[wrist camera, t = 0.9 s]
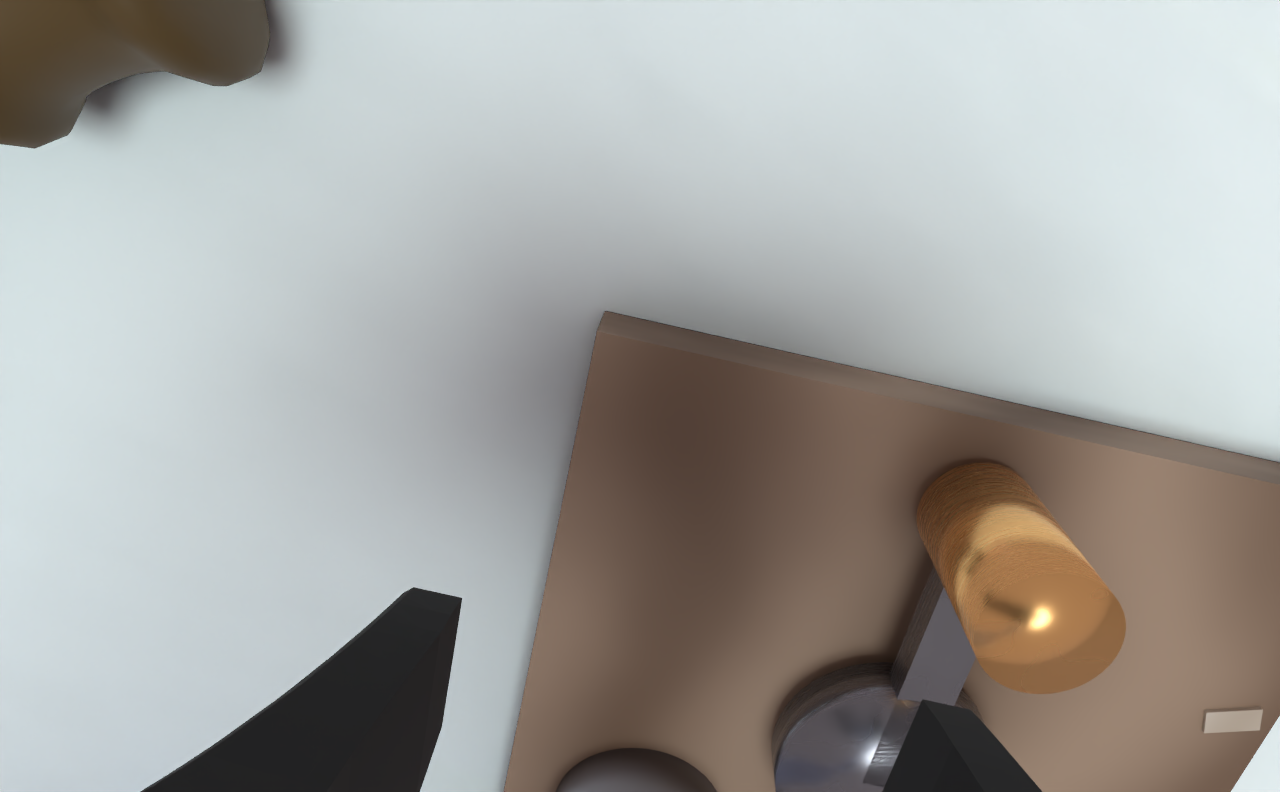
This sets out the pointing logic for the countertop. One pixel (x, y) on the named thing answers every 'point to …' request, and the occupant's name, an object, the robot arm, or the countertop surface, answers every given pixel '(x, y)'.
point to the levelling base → (871, 572)
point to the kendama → (114, 53)
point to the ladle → (958, 632)
